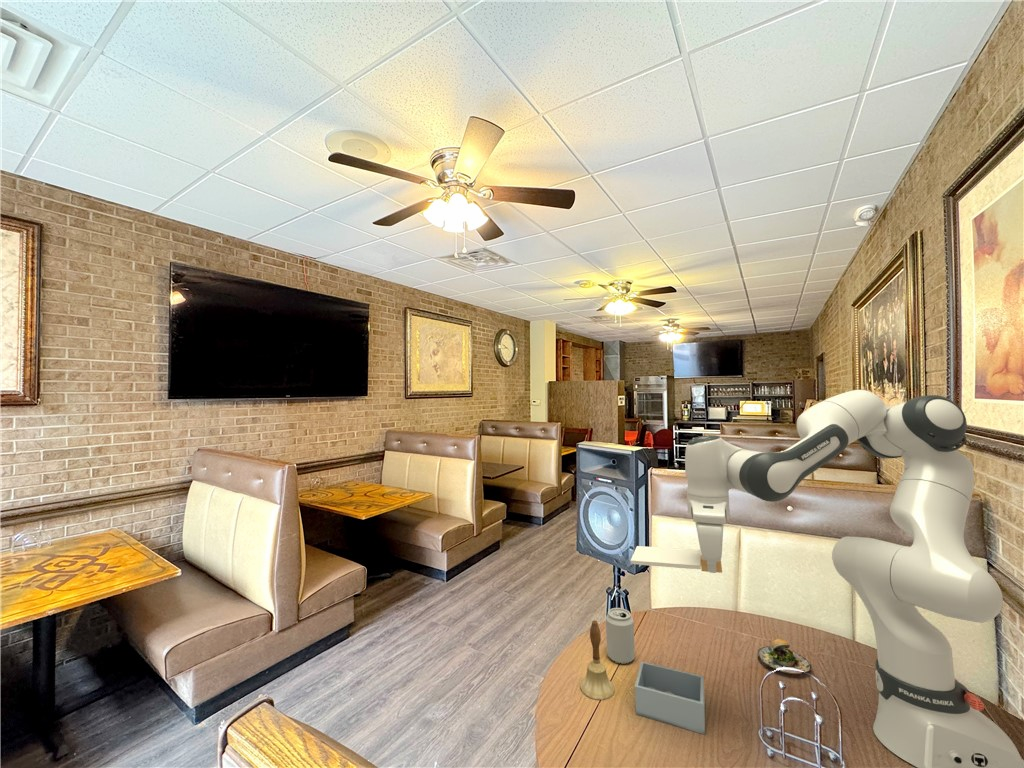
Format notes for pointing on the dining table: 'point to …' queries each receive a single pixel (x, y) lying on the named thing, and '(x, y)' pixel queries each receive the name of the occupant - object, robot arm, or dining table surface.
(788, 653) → the burger
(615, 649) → the can
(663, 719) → the tub
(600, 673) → the hand bell
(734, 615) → the dining table surface
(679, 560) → the lid
